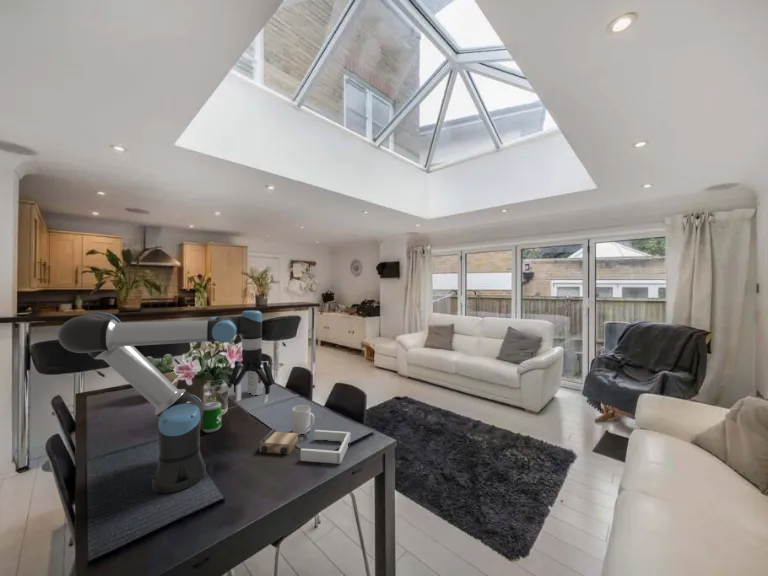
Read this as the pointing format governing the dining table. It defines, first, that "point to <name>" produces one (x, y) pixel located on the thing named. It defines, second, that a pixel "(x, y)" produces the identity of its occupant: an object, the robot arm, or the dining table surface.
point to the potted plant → (165, 367)
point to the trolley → (278, 442)
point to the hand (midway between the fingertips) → (251, 401)
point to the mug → (302, 419)
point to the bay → (327, 455)
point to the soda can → (211, 416)
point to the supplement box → (255, 382)
